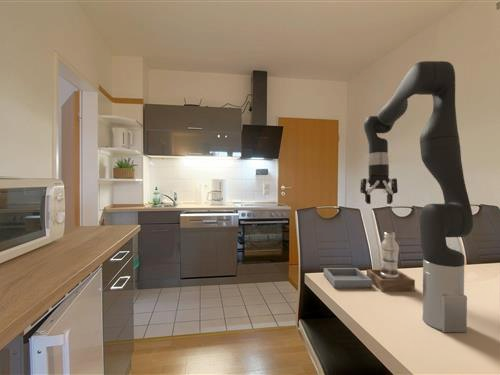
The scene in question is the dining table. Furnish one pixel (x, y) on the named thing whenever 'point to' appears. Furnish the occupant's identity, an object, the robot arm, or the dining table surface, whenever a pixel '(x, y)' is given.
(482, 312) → the dining table surface
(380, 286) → the walnut collar
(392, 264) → the plastic bottle
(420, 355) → the dining table surface
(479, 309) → the dining table surface
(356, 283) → the grey tray
